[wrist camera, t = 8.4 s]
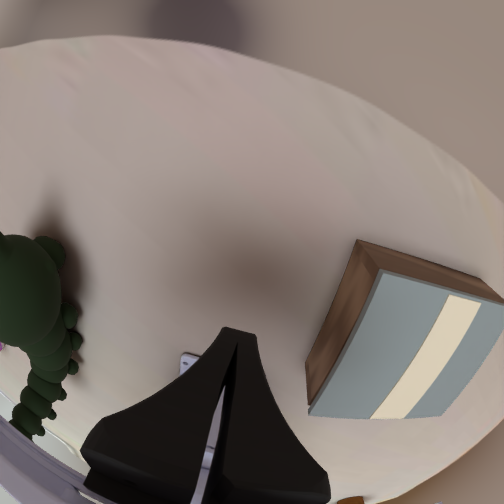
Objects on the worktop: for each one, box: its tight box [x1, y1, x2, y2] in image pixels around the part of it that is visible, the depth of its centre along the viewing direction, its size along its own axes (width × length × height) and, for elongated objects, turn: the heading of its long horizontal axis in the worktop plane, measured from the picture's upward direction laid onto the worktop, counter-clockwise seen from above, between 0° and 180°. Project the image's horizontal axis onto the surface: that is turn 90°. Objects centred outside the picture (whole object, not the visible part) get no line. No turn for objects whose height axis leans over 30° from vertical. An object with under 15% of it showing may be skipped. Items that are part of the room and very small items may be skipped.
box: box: [305, 239, 504, 406], centre depth 18 cm, size 12×14×5 cm
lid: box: [308, 269, 504, 419], centre depth 15 cm, size 12×14×1 cm
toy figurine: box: [0, 232, 82, 443], centre depth 15 cm, size 9×19×25 cm
